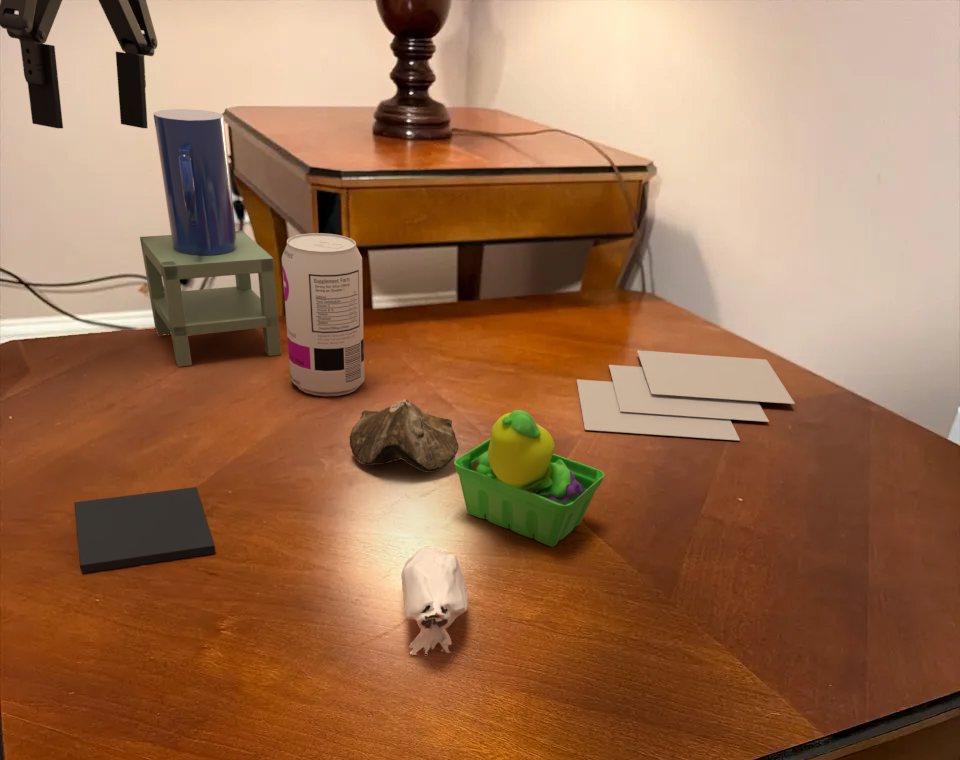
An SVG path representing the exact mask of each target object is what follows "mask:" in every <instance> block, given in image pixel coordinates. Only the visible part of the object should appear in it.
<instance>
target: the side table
mask: <svg viewBox="0 0 960 760" xmlns="http://www.w3.org/2000/svg"><path fill="white" fill-rule="evenodd" d="M235 231H236V240H237V249H236V250H235V251H233V252H230V253H227V254H222V255H213V256H198V255H189V254H184V253H180V252H178V251H176V250H175V249H174V248H173V243H172V236H171V234H167V235H162V234H161V235H146V236H139V241H140V246H141V252H142V253H141V254H142V258H143V265H144V269H145V276H146V282H147V287H148V294H149V299H150V305H151V310H152V312H151V313H152V317H153V324H154V330H155V333H156V332H158V333H156V334H157V336H158V335H159V336H158V337H163V336H171V341H172V345H173V346H172V348H173V352H174V359H175V364H176V365H177V366H178V368H182V367H191V366H192V365H193V361H192V357H191V349H190V343H189V342H190V341H189V336H198V335H199V336H200V335H208V334H217V333H219V334H220V333H228V332H236V331H238V332H239V331H245V330H256V329H262V330H263V341H264V352H265V353H266V355H267V356H268V357H274V356H281V355H282V351H281V350H282V349H281V339H280V338H281V337H280V325H279V313H278V312H279V311H278V301H277V288H276V275H275V262H274V257H272V256H271V254H269V253H268V252H267V251H266V250H265V249H264V248H262V247H261V246H260V245H259V244H258V243H257V242H256V241H254V240H253V238H252V237H250V236H249V234H247V233H246V232H245V231H244V230H235ZM252 274H258V275H257V277H258V287H259V295H258V294H257V293H256V292H255V290H253V289H252V281H251V278H252V277H251V275H252ZM226 276H227V277H228V276H234V277H235V286H227V287H216V288H203V289H193V290H182V287H181V281H180V280H189V279H203V278H215V277H226ZM156 330H157V331H156ZM163 334H166V335H163ZM168 334H169V335H168Z"/></svg>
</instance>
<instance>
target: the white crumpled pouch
mask: <svg viewBox="0 0 960 760" xmlns="http://www.w3.org/2000/svg"><path fill="white" fill-rule="evenodd" d="M400 574H401V575H400V576H401V578H400V579H401V589H402V593H403V604H404V618H405V620H407V621H416V624H417V625H418V628H419V629H420V631H419V633H418V634H417V635H416V637H415V638H414V639H413V640H412V641H411V643H410V644H409V646H408V647H409V648H410V649H412V650H411V651H410V652H409V654H410V655H411V654H412V653H414V655H418V652H419V651H420V650H422V649H423V652H424V654H427V655H426V656H429V655H428V652H429V650H430V649H431V650H434V649H435V647H436V646H437V644H438V643H439V645H440V646H441V648H442V649H440V651H441V652H442V653H443V652H445V653H448V654H452V652H451V651H450V649H449V646H451V645H452V644H453V642H452V639H451V636H450V634H449V633H448V631H447V628H449V627H450V626H451V625H452V623H453V622H454V621H455V620H456V619H457V618H458V617H459V616H461V615H462V614H464V613H466V612H467V610H468V607H469V603H468V602H469V592H468V587H467V584H466V581H465V578H464V574H463V572H462V568H461V566H460V563H459V560H458V558H457V555H456V554H449V553H448V552H446V551H443V550H441V549H438V548H437V547H432V546H429V545H427V546H426V545H425V546H421V547H420V548H419V549H418V550H416V551H415V553H414V554H412V556H411V557H410V558H408V559H407V560H406V561H405V562H404V564H403V568H402V571H401V573H400Z"/></svg>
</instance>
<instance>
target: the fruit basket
mask: <svg viewBox="0 0 960 760" xmlns="http://www.w3.org/2000/svg"><path fill="white" fill-rule="evenodd" d="M554 441H555V440H554V439H553V437H552V435H551V433H550V432H549V431H548V430H547V429H546V428H544V427H542V426H541V425H539V423H537V422H536V421H535V419H534V418H533V417H532V415H530V413H529V412H527V411H525V410H522V409H515V410H512V411H511V412H507V413H504V414H503V415H502V416H500V417H499V418H498V419H496V421H495V422H494V424H493V425H492V428H491V431H490V437H489V438H488V439H487V440H485V441H483V442H481V443H480V444H478V445H477V446H475V447H474V448H472V449H470V450H468V451H467V452H465V453H464V454H462V455H461V456H459V457H458V458H456V459H455V460H454V461H453V464H454V467H455V471H456V474H457V475H458V478H459V482H460V486H461V490H462V495H463V499H464V504H465V508H466V512H467V514H469V515H472V516H474V517H477V518H479V519H482V520H486V521H488V522H489V523H491V524H494V525H497V526H499V527H501V528H504V529H510V530H511V531H512V532H514V533H516V534H518V535H520V536H523V537H525V538H529V539H534V540H535V541H537V542H538V543H541V544H543V545H545V546H549V547H550V548H553V547H555V546H556V545H557V544H558V542H559V541H561V540H563V539H564V538H566V537H567V536H568V535H569V534H570V533H571V532H572V531H573V530H574V528H576V527H578V526H579V525H581V523H582V521H583V519H584V517H585V514H586V512H587V511H588V509H589V506H590V505H591V502H592V500H593V497H594V495H595V493H596V491H597V489H598V488H599V487H600V486H601V484H602V482H603V480H604V478H605V477H606V476H605V473H604V471H603V470H601V469H599V468H597V467H593V466H590V465H587V464H584V463H582V462H579V461H575V460H572V459H570V458H567V457H564V456H561V455H559V454H556V453H554V451H555V442H554Z"/></svg>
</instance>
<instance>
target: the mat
mask: <svg viewBox="0 0 960 760" xmlns="http://www.w3.org/2000/svg"><path fill="white" fill-rule="evenodd" d="M73 504H74V515H75V526H76V536H77V548H78V558H79V568H80V571H81V573H82V574H88V573H94V572H102V571H108V570H115V569H121V568H128V567H134V566H140V565H141V566H142V565H149V564H154V563H160V562H167V561H168V562H169V561H175V560H180V559H188V558H193V557H200V556H207V555H213V554H216V546H215V543H214V539H213V536H212V533H211V530H210V527H209V526H210V525H209V523H208V520H207V517H206V513H205V510H204V507H203V503H202V499H201V497H200V494H199V490H198V487H197V486H193V487H185V488H179V489H178V488H176V489H170V490H161V491H160V490H159V491H153V492H146V493H145V492H143V493H137V494H127V495H122V496H121V495H120V496H114V497H113V496H112V497H104V498H96V499H89V500H80V501H74V503H73Z"/></svg>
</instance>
